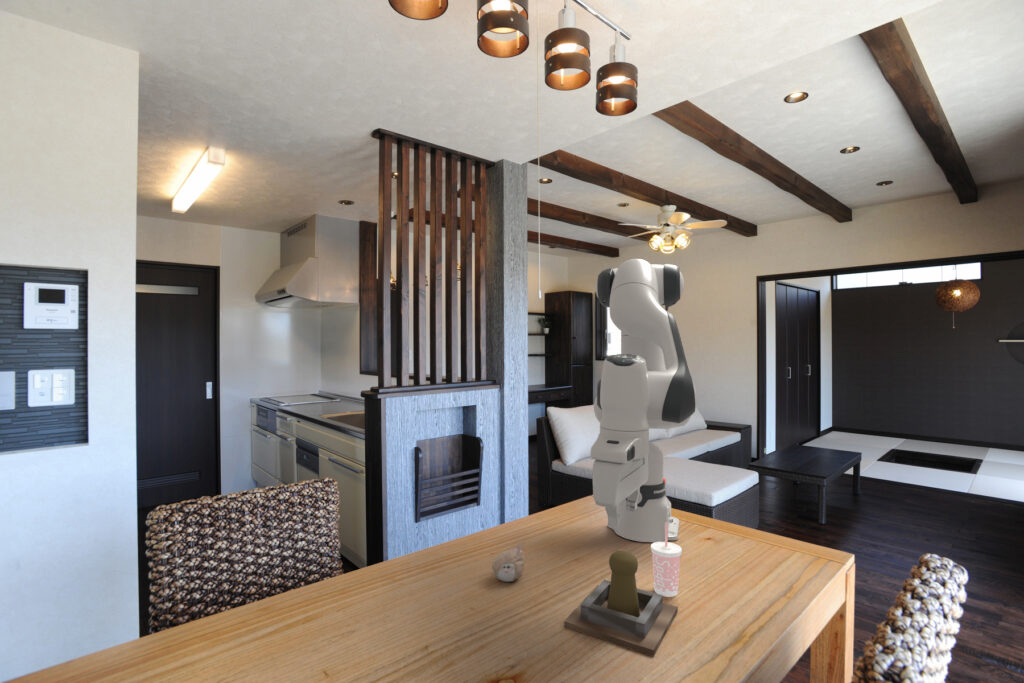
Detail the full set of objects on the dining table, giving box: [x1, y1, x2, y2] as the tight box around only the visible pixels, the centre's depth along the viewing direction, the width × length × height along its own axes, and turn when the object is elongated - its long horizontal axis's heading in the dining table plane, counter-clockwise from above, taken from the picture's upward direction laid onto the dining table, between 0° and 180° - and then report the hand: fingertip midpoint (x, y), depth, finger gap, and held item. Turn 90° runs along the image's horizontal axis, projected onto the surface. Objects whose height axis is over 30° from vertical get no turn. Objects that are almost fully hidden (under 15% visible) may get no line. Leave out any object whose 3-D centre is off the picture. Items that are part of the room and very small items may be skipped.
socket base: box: [563, 579, 679, 657], centre depth 92 cm, size 16×16×4 cm
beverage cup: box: [650, 522, 683, 598], centre depth 103 cm, size 6×6×14 cm
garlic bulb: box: [492, 541, 525, 583], centre depth 107 cm, size 7×6×8 cm
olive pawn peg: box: [607, 550, 640, 617], centre depth 92 cm, size 6×6×11 cm
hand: (623, 517), depth 92 cm, fingers open, 8 cm apart
